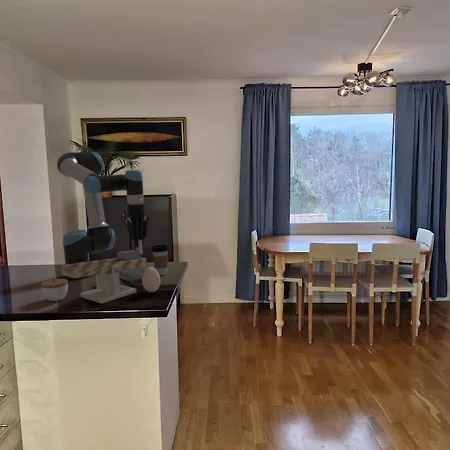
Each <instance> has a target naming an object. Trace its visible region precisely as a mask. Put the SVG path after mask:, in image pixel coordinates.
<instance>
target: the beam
mask: <svg viewBox="0 0 450 450" xmlns="http://www.w3.org/2000/svg"><path fill="white" fill-rule="evenodd" d="M113 265H118V268H119V270H120V271H127V270H128V271H129V270H133V269H138V268H139V269H140V268H145V267H147V258H145V257H142V256H140V259H135V260H128V261H121V262H118V257H114V258H109V259H99V260H93V261H89V262H84V263H76V264H69V265H65V264H63V265H61V276H63V275H65V276H69V277H72V278H79V277H85V276H89V277H91V276H96V275H97V274H103V273H109V272H112V269H111V266H113ZM120 271H119V272H120ZM85 278H86V277H85Z"/></svg>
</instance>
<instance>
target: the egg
mask: <svg viewBox="0 0 450 450" xmlns="http://www.w3.org/2000/svg"><path fill="white" fill-rule="evenodd" d="M141 281H142V282H141V284H142V286H143V288H144V289H145V291H147V292H148V293H155V292H156V291H157V290H158V289H159V288H160V286H161V275H159V273H158V271H157V270H156V269H155V267H153V266H150V267H147V268H146V269H145V270H144V272H143V274H142V277H141Z"/></svg>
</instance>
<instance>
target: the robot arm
mask: <svg viewBox="0 0 450 450" xmlns="http://www.w3.org/2000/svg"><path fill="white" fill-rule="evenodd" d="M56 167H57V170H58V172H59V173H60V174H62V175H63V176H65V177H70V178H71V179H73V180H75V181H77V182H78V183H79V184H81V185H82V189H83V195H84V196H83V197H84V201H85V209H86V213H87V219H88V226H87V228H86V229H77V230H73V231H69V232H66V233H65V234H64V235H63V236H62V245H63V254H64V265H69V264H76V263H84V262H90V257H89V254H95V253H101V252H106V251H109V250H111V249H113V247H114V246H115V243H116V233H115V230H113V229H112V228H110V225H109V224H108V223H107V222H106V217H105V211H104V206H103V205H104V203H103V200H102V193H107V192H109V193H110V192H118V191H120V192H121V191H126V201H127V204H128V205H127V212H128V216H127V217H128V218H127V219H125V220H124V221H123V222H124V224H125V226H126V228H127V231H128V236H129V239H130V240H133V242H134V247H135V251H140V255H142V254H143V246H144V242H143V241H144V240H145V239H146V237H147V233H148V231H147V230H148V223H149V221H150V217H149V216H146V214H145V212H146V211H145V203H144V202H145V198H144V197H145V196H144V186H143V185H144V183H143V182H144V181H143V180H144V178H143V173H142V170H141V169H130V170H129V169H128V170H126V171H124V174H121V173H119V174H111V175H102V173H103V172H104V161H103V159H102V156H100V154H99V153H98V152H96V151H85V152H84V151H82V152H80V151H79V152H78V151H77V152H76V151H73V152H71V151H69V152H66V153H63V154H62V155H61V156H59V157H58V159H57V162H56ZM89 277H90V276H85V277H79V278H72V277H69V276H65V275H62V279H66V280H79V279H85V278H89Z"/></svg>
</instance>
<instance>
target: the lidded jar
mask: <svg viewBox="0 0 450 450" xmlns="http://www.w3.org/2000/svg"><path fill="white" fill-rule="evenodd" d="M68 283H69V279H65V278H55V277H54V278H52V279H49V280H45V281H43V282H41V284H40V287H41V291H42V295H43V297H44V298H45V299H46V300H47V301H49V300H50V301H55V300H60V301H62V300H61V299H63V298H65V297H66V296H67V294H68V291H69V284H68ZM63 300H64V299H63ZM50 301H49V302H50Z"/></svg>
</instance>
